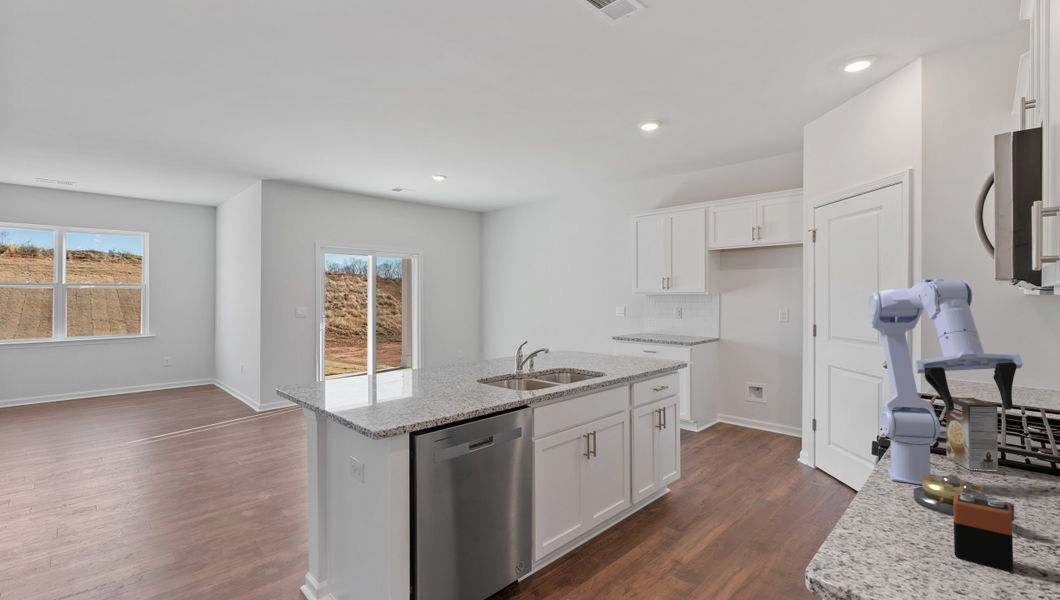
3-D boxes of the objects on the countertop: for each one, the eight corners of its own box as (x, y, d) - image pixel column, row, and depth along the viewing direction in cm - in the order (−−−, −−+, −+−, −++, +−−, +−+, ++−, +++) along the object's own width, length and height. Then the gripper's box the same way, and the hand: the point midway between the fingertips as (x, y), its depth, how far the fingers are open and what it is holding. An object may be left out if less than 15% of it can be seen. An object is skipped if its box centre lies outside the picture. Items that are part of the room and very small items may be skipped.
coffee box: (945, 459, 127) (943, 396, 127) (973, 460, 125) (972, 397, 125) (969, 471, 118) (967, 404, 118) (1000, 472, 116) (999, 404, 116)
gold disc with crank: (911, 488, 103) (911, 470, 103) (955, 487, 103) (954, 470, 103) (985, 525, 86) (984, 504, 86) (1037, 525, 86) (1037, 504, 86)
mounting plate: (909, 489, 107) (909, 482, 107) (983, 500, 101) (983, 492, 101) (918, 509, 97) (918, 501, 97) (1000, 523, 91) (1000, 514, 91)
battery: (1013, 573, 74) (1011, 507, 74) (954, 557, 79) (952, 495, 79) (1012, 561, 78) (1011, 498, 78) (955, 547, 82) (954, 487, 82)
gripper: (911, 332, 93) (929, 402, 86) (1015, 324, 85) (1042, 399, 79) (909, 347, 98) (925, 414, 91) (1006, 340, 91) (1031, 412, 84)
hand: (979, 408), depth 86 cm, fingers open, 7 cm apart
